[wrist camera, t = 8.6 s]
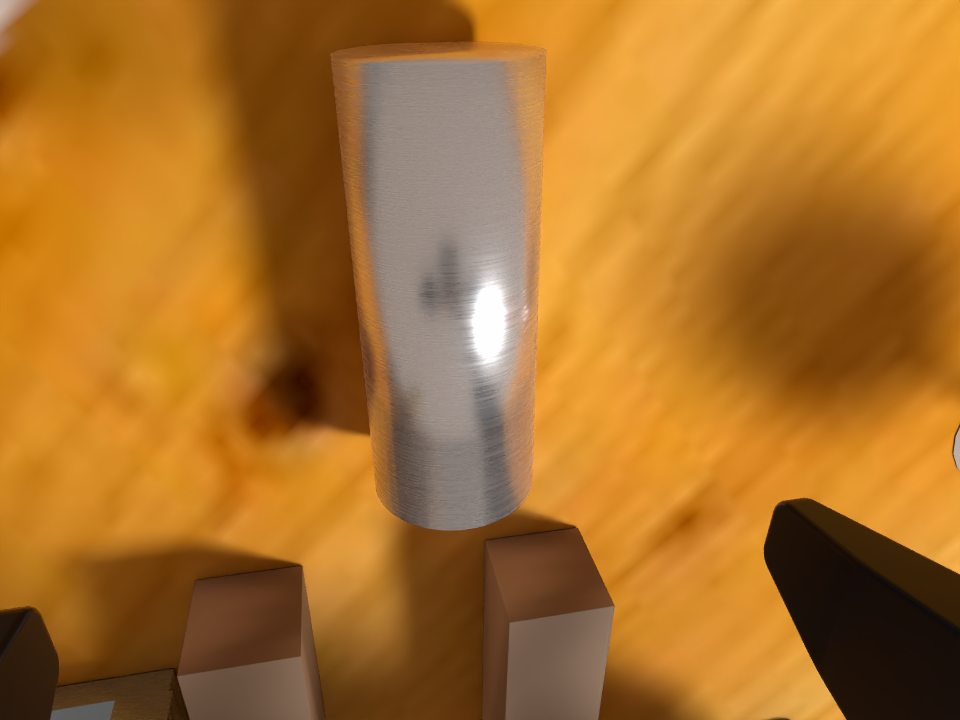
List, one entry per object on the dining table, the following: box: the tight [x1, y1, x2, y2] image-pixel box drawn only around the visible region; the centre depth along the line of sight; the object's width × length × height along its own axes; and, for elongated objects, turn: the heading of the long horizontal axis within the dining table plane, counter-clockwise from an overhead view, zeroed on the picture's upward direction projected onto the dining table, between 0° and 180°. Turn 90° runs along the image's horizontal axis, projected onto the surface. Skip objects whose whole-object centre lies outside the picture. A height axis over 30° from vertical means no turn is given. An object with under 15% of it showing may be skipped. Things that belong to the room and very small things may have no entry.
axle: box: [330, 41, 546, 531], centre depth 16 cm, size 10×4×4 cm
